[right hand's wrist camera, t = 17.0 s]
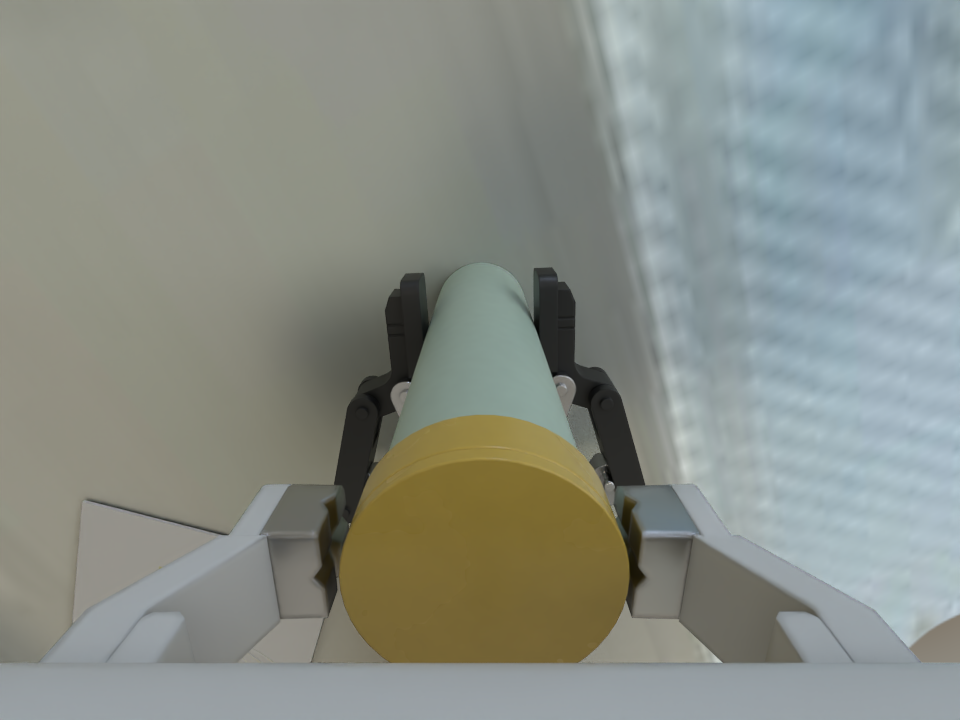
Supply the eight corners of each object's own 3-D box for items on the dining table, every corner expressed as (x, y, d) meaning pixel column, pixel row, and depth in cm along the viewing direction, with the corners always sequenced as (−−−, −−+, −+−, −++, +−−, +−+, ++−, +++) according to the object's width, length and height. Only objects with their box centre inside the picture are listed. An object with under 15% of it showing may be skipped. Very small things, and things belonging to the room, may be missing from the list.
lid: (422, 369, 9) (411, 408, 8) (657, 478, 10) (688, 533, 8) (321, 569, 11) (296, 635, 9) (532, 651, 11) (540, 724, 10)
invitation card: (81, 502, 30) (338, 568, 32) (84, 499, 30) (339, 564, 32) (61, 747, 37) (273, 790, 39) (64, 742, 37) (275, 786, 39)
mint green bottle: (537, 279, 26) (651, 497, 9) (507, 357, 28) (553, 679, 10) (453, 250, 26) (399, 420, 8) (427, 331, 27) (333, 621, 10)
